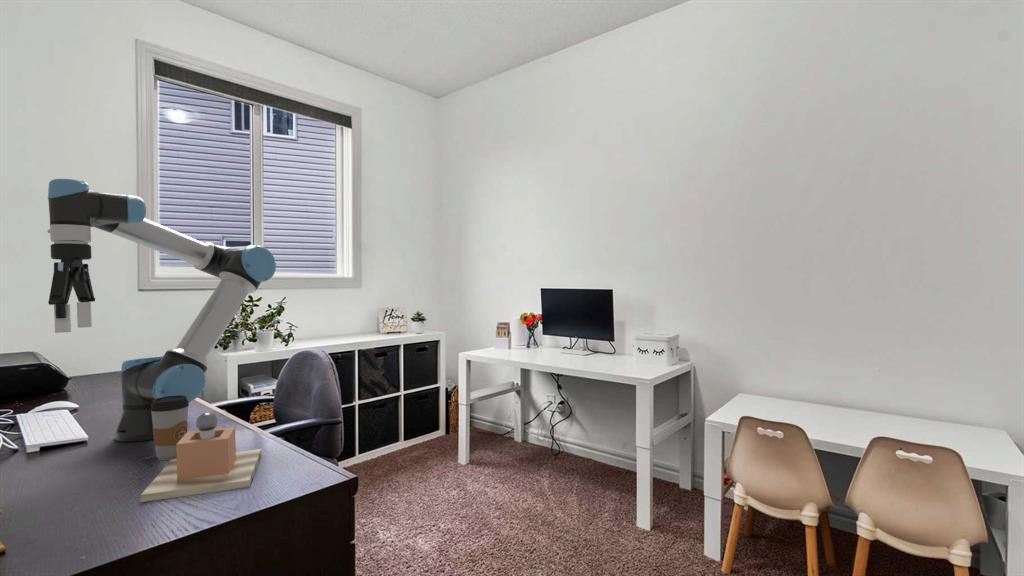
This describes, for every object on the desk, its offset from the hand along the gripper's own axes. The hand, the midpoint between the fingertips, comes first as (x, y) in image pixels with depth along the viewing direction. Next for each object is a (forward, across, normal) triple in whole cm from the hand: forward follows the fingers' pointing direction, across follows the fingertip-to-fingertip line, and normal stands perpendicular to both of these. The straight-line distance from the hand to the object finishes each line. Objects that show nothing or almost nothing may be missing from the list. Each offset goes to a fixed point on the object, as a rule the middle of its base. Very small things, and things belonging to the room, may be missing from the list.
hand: (74, 329), depth 123 cm
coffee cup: (+34, +2, +19) cm, 39 cm away
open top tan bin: (+32, +22, +30) cm, 49 cm away
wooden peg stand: (+34, +22, +30) cm, 50 cm away
